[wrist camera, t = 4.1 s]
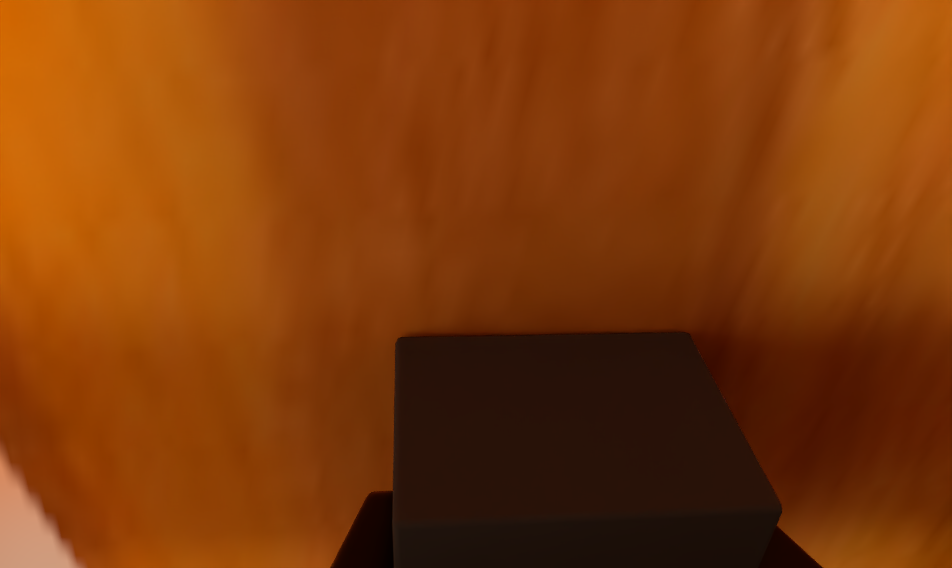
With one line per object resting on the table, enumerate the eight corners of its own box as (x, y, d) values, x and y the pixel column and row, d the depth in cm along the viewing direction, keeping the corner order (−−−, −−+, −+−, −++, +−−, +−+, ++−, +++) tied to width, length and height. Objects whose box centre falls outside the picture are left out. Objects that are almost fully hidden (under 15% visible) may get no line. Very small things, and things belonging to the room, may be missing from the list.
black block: (689, 329, 10) (787, 508, 7) (640, 519, 12) (701, 707, 9) (395, 335, 9) (392, 525, 7) (400, 529, 12) (399, 727, 9)
